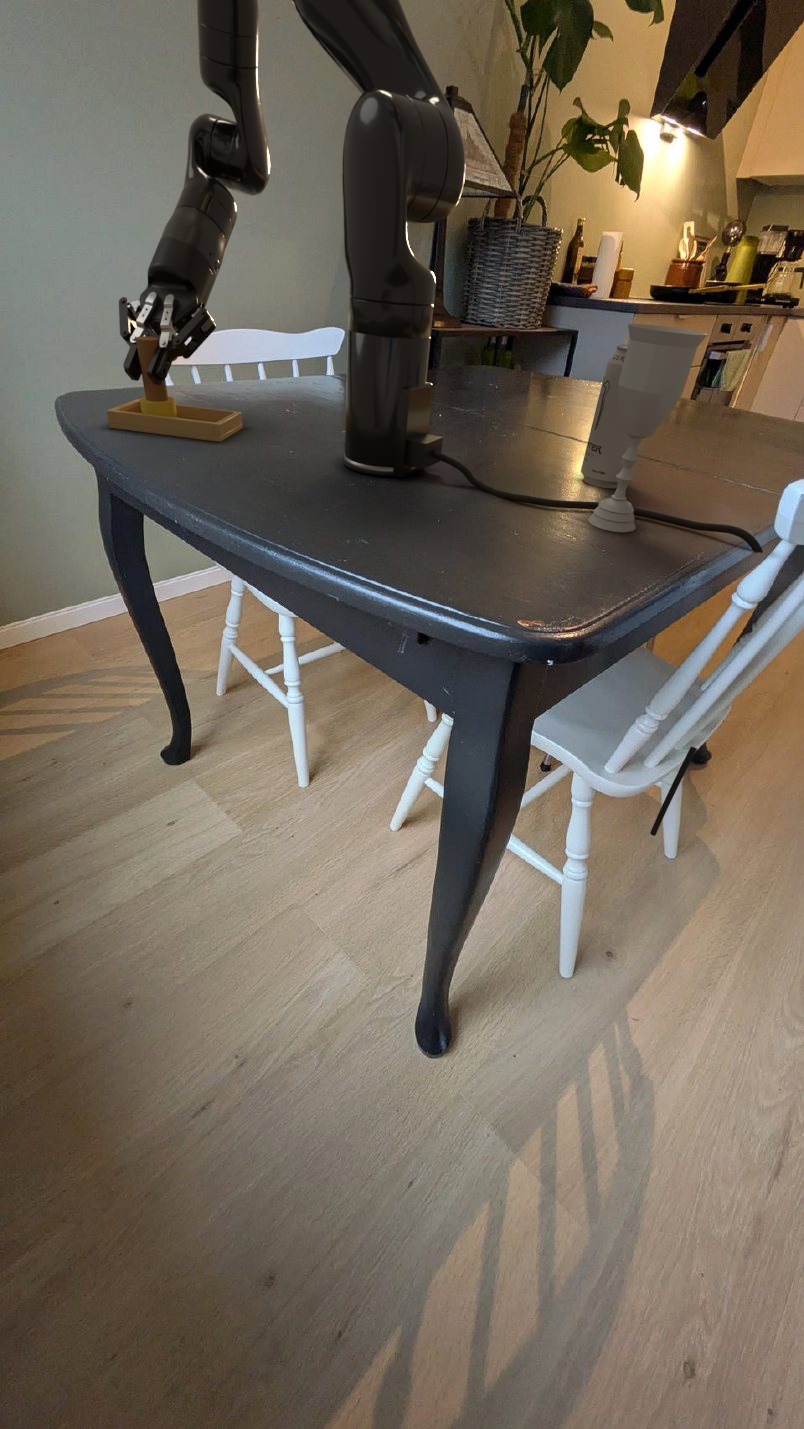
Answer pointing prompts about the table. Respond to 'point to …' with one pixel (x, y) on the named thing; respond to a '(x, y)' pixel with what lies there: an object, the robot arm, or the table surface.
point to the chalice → (646, 403)
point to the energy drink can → (607, 430)
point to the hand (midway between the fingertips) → (142, 377)
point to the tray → (177, 421)
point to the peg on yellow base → (154, 393)
